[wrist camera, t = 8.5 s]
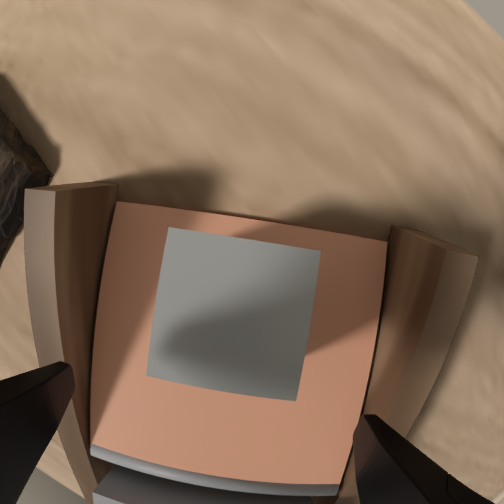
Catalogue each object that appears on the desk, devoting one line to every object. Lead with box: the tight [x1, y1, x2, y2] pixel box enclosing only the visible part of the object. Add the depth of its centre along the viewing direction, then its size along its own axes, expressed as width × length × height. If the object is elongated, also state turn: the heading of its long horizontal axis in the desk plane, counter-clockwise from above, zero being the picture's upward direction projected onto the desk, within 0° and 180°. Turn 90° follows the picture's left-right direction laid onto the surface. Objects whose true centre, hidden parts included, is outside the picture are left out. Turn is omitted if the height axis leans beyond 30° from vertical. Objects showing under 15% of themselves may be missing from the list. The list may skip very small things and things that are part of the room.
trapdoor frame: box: [24, 182, 479, 504], centre depth 18 cm, size 21×25×6 cm
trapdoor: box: [90, 201, 387, 504], centre depth 16 cm, size 16×22×5 cm
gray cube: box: [146, 227, 321, 401], centre depth 14 cm, size 6×6×6 cm
